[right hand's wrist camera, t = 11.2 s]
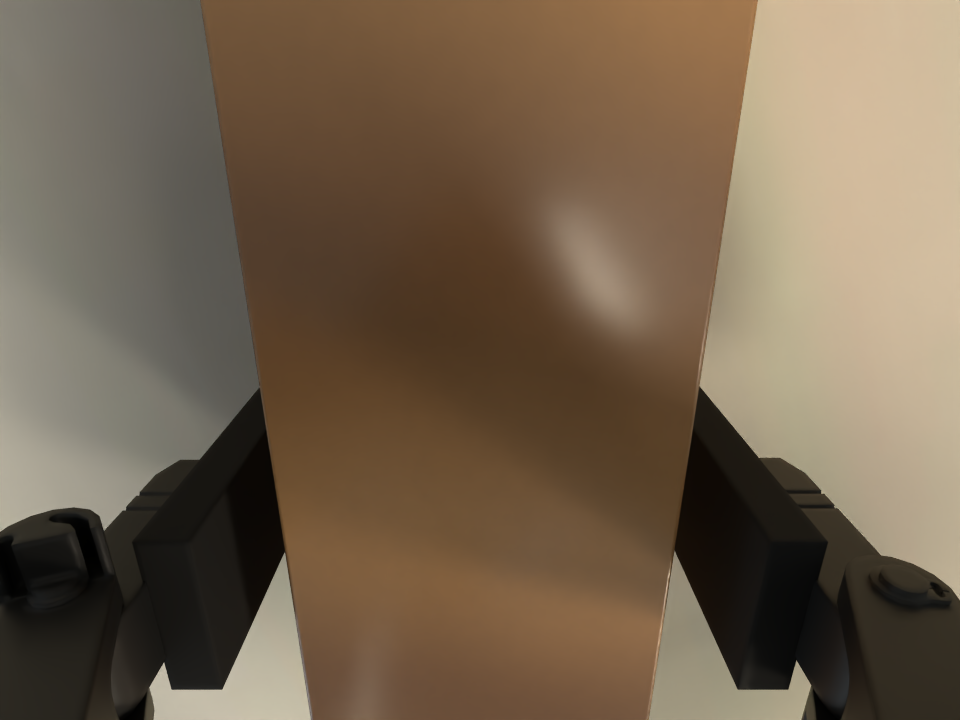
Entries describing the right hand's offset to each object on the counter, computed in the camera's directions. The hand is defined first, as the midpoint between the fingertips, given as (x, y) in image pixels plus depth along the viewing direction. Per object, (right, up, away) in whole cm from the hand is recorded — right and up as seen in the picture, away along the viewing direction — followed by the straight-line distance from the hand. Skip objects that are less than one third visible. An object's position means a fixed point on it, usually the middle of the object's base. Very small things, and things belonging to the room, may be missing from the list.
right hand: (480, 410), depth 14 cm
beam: (0, +18, -5) cm, 19 cm away
